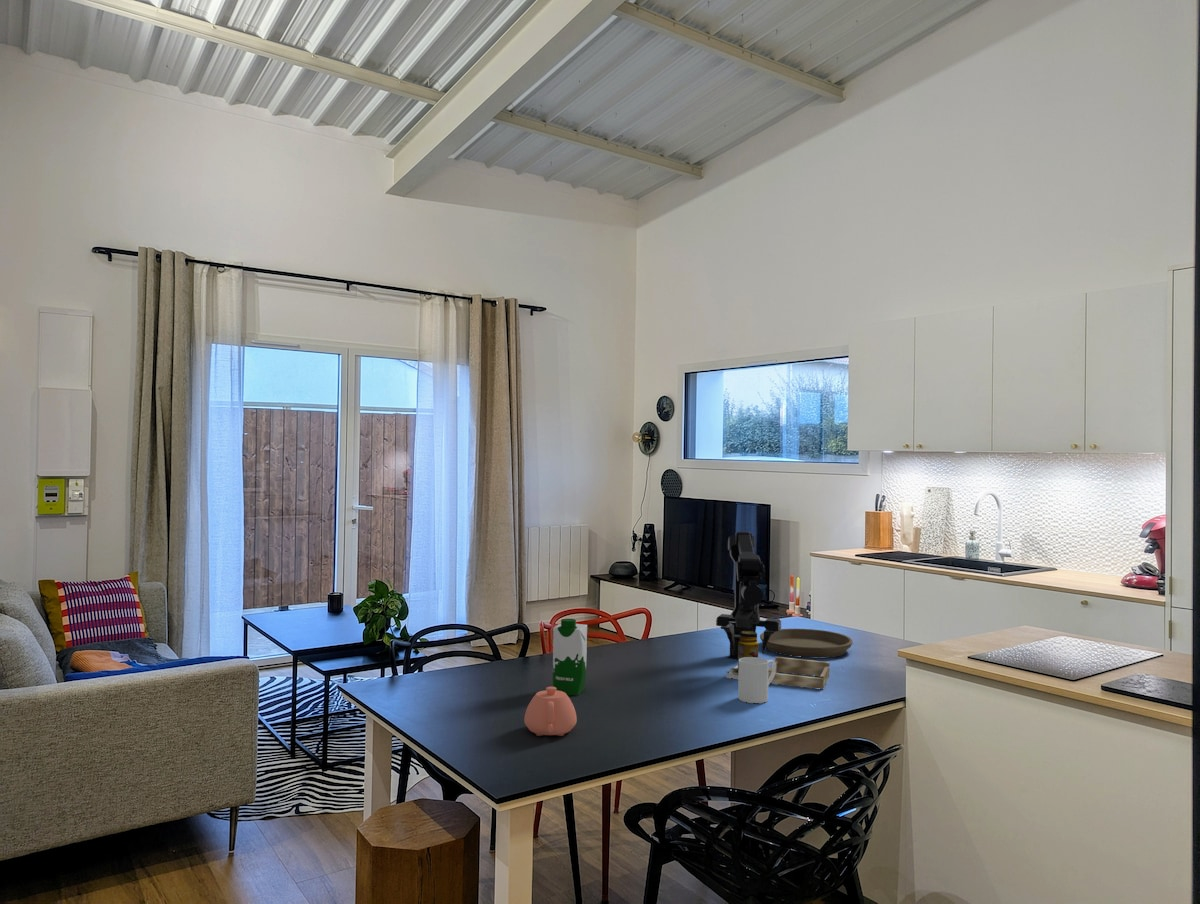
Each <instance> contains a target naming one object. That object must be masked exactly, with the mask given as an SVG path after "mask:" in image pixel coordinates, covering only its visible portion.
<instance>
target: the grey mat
mask: <svg viewBox="0 0 1200 904" xmlns="http://www.w3.org/2000/svg"><path fill="white" fill-rule="evenodd" d="M734 668H738V665H736V666H735V667H734ZM738 677H739V675H734V674H733V673H732V672H731V671H729V672H728V673H727V675H725V678H726V679H731V678H733V680H738Z"/></svg>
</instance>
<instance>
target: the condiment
mask: <svg viewBox="0 0 1200 904" xmlns="http://www.w3.org/2000/svg"><path fill="white" fill-rule="evenodd" d="M739 638H740V640H739V642H738V659H737V666H738V668H735V667H728V670H729V672H732V673H733V674H734V675H739V659H740V658H744V657H756V658H759V641H758V633H757V632H753V631H742V632H740V637H739Z"/></svg>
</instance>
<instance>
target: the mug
mask: <svg viewBox="0 0 1200 904" xmlns="http://www.w3.org/2000/svg"><path fill="white" fill-rule="evenodd" d="M774 661H775V660H773V659H765V658H762V657H758V658H756V657H744V658H740V659H739V677H738V679H737V680H738V681H737V683H738V684H737V687H738V688H737V689H738V690H737V693H738V694H737V697H738V700H739V701H741V702H743V703H746V702H747V704H753V703H759V704H765V703H767V702H768V700H769V685H770V683H771V682H772V680H773V678H774V676H775V673H776V663H775V662H774ZM770 663H771V665H772V672H771V675H770V677H769V679H768V669H769V665H770ZM764 702H765V703H764Z"/></svg>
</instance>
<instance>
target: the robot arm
mask: <svg viewBox="0 0 1200 904" xmlns="http://www.w3.org/2000/svg"><path fill="white" fill-rule="evenodd" d="M755 545H756V541H755V536H754V535H753V534H752V532H750V531H737V532H735V534H732V535H730V536H728V540H727V550H728V551H729V556H730V558H731V560H732V562H733V563H734V608H733V610H732V612H730V614H729V613H728V614H726V613H725V614H724V613H721V614H720V615H718V616H717V617H716V619H715V622H716V623H715V625H716V627H720V629H721V630H723V631H725V632H724V633H726V637H727V639H728V641H729V655H728V658H730V659H737V660H738V642H739V640H740V638H739V637H740V632H742V631H753V632H756V631H757V627H759V628H760V627H761V628H764V629H765V630H763V633H764V639H763V642H762V648H761V650H762V653H763V654H765V652H766V649H767V647H766V646H767V644H768V641H769V638H770V636H771V634H774V633H775V632H776V631H779V630H780V629H782V620H780V618H771V617H767V618H766V619H765V620H761V616H760V612H759V606H760V605H759V604H760V603H762V601H763V598H764V592H763V590H762V589H761V587H760V583H764V582H765V580H766V570H765V569H766V568H765V565H764V563H763V561H761V558H760V555H758V554H756V553H755V552H754V550H755V548H756V546H755ZM756 633H757V632H756Z"/></svg>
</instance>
